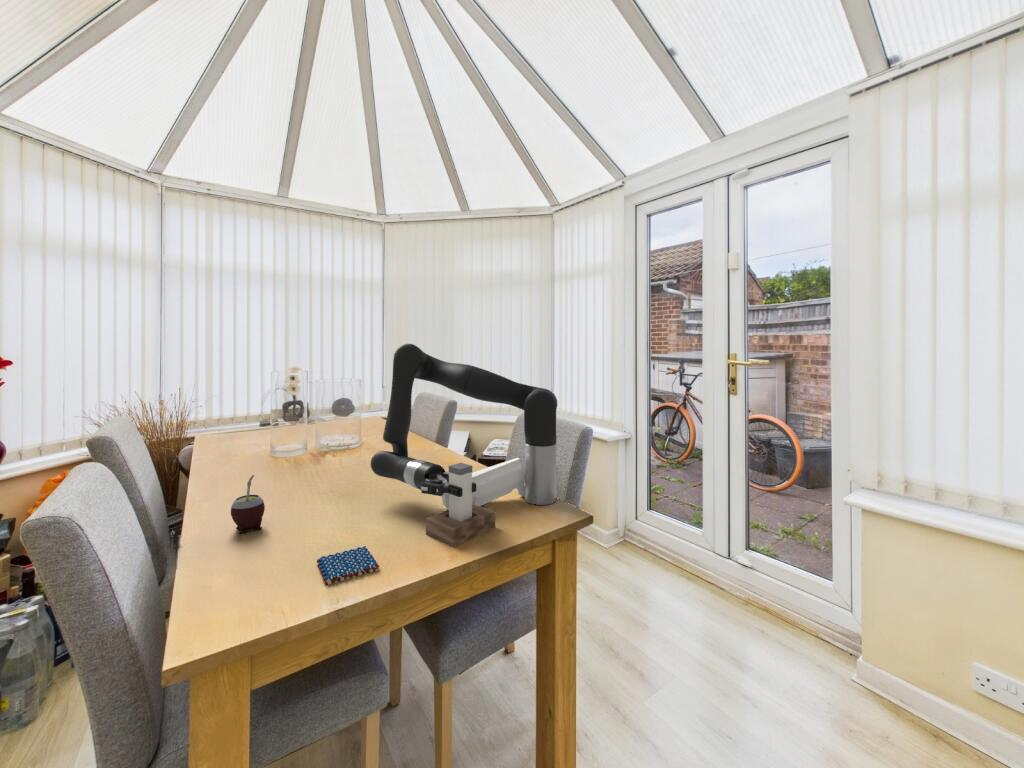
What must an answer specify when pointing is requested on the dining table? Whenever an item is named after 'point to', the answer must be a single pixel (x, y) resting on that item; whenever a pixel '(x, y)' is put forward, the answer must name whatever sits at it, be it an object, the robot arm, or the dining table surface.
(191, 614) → the dining table surface
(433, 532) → the brown square socket block
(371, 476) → the dining table surface
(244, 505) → the mate gourd
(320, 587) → the dining table surface
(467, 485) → the grey-capped white post
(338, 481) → the dining table surface
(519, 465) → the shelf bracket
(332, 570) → the woven mat
